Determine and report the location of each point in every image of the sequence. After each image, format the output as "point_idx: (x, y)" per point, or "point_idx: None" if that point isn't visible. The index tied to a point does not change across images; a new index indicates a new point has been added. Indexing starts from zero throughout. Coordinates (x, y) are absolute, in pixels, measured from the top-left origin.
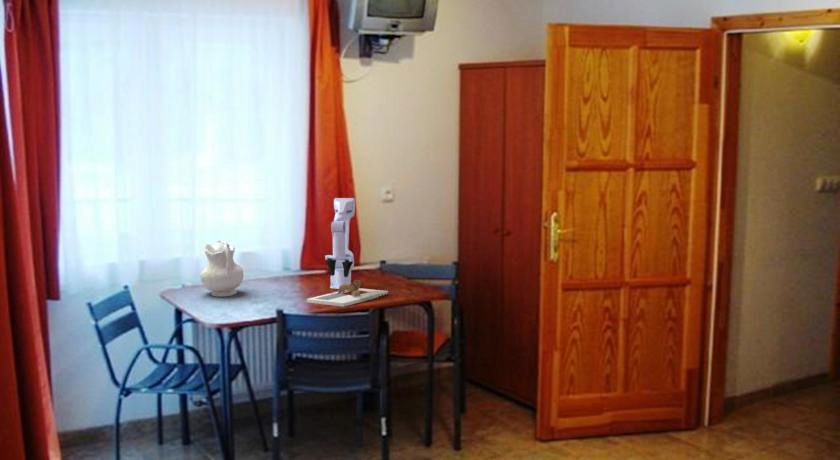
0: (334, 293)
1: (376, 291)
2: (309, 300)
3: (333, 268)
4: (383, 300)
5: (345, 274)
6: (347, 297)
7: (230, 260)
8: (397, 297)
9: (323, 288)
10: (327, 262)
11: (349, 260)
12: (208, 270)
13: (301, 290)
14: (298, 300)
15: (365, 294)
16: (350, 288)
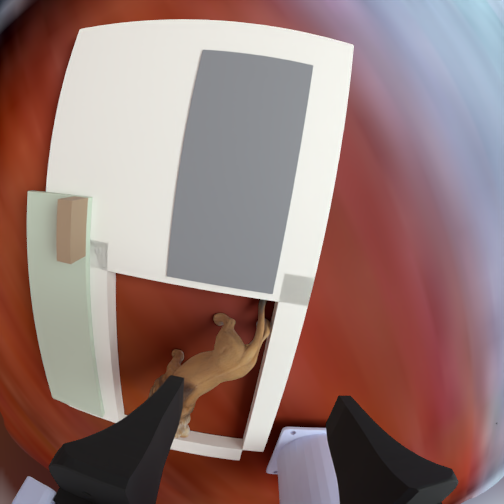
0: (282, 300)
1: (79, 383)
2: (330, 41)
3: (345, 465)
4: (11, 276)
5: (160, 389)
6: (123, 190)
7: None
8: (19, 356)
9: (408, 436)
10: (429, 475)
11: (39, 494)
12: None
13: (480, 365)
14: (421, 101)
15: (63, 288)
16: (185, 363)
